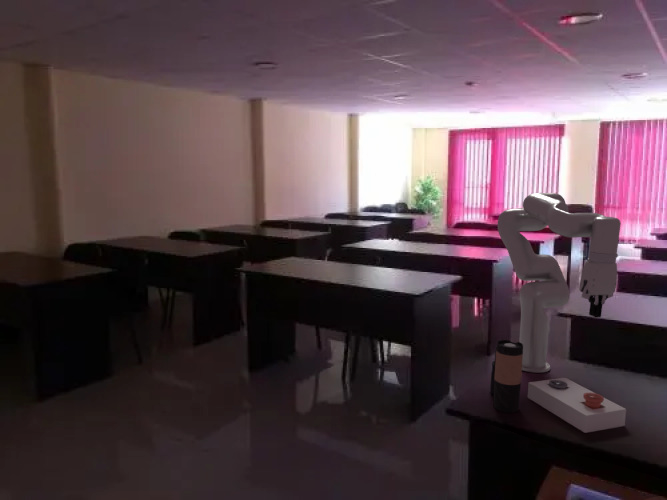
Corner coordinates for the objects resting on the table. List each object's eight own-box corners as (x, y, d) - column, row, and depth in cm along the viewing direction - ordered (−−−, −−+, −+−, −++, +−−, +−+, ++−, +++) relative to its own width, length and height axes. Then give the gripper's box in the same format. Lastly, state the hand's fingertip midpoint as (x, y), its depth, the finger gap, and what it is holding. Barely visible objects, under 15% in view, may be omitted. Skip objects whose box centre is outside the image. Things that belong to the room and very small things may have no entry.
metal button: (544, 394, 169) (545, 380, 169) (558, 392, 171) (559, 379, 170) (556, 401, 164) (557, 387, 164) (570, 399, 166) (571, 385, 165)
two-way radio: (490, 388, 177) (492, 344, 175) (504, 390, 176) (507, 345, 174) (490, 395, 172) (492, 350, 170) (504, 397, 171) (507, 351, 168)
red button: (578, 408, 156) (579, 393, 155) (592, 406, 158) (593, 391, 157) (591, 416, 151) (593, 401, 150) (606, 414, 153) (608, 398, 152)
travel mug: (499, 413, 159) (503, 348, 156) (488, 402, 166) (492, 340, 163) (524, 412, 160) (528, 347, 157) (511, 401, 168) (515, 339, 164)
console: (527, 397, 170) (528, 382, 170) (563, 392, 175) (564, 377, 174) (584, 432, 148) (586, 415, 147) (624, 425, 152) (626, 409, 152)
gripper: (612, 254, 169) (605, 310, 172) (572, 256, 164) (566, 313, 168) (631, 259, 161) (623, 318, 165) (590, 261, 157) (583, 321, 161)
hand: (594, 315), depth 166 cm, fingers closed
